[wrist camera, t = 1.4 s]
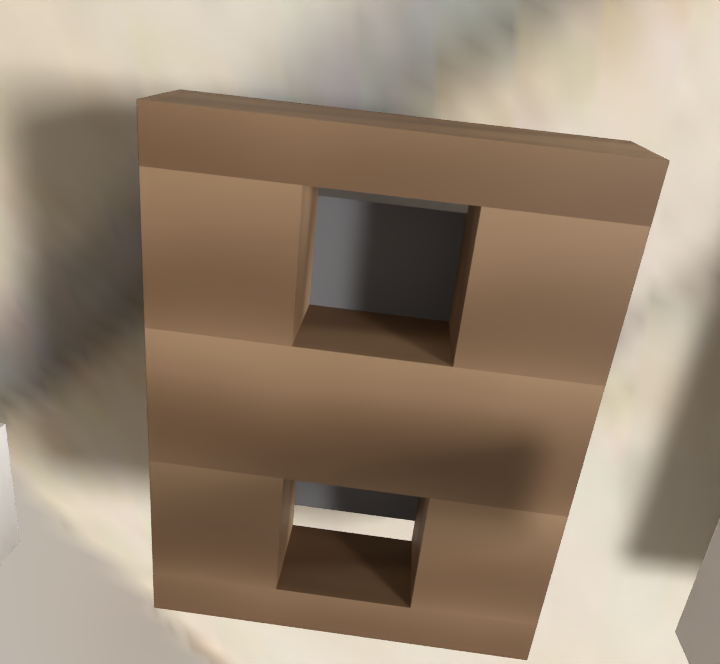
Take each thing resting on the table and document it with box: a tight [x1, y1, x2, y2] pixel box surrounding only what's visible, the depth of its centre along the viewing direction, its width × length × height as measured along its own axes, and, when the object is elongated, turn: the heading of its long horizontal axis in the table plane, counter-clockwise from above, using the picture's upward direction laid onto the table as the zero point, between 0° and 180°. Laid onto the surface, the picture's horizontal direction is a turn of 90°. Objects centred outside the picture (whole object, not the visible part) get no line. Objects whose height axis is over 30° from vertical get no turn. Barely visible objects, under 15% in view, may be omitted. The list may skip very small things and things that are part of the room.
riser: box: [294, 187, 468, 521], centre depth 19 cm, size 9×6×4 cm, turn 174°
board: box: [137, 90, 669, 660], centre depth 16 cm, size 13×10×2 cm
